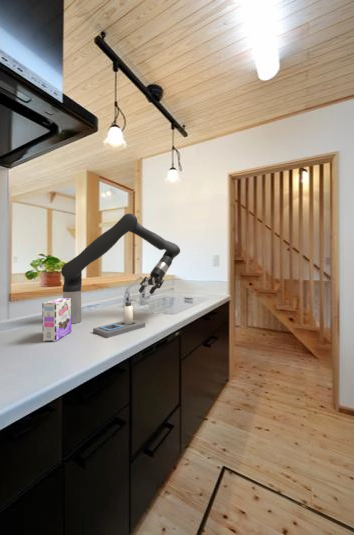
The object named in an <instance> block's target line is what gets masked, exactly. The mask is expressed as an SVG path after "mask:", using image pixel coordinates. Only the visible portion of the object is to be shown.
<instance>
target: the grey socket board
mask: <svg viewBox="0 0 354 535" xmlns="http://www.w3.org/2000/svg"><path fill="white" fill-rule="evenodd" d="M142 328H146V322H143V321H138V320H135V319H133V324H132V325H128V326H127V325H124V320H122V321H118V322H114V323H110V324H106V325H101V326H97V327H94V328H93V329H92V332H93V333H94V334H96V335H99V336H101V337H104V338H107V339H108V338H111V337H115V336H119V335H122V334H126V333H129V332H132V331H137V330H139V329H142Z"/></svg>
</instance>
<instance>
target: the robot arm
mask: <svg viewBox="0 0 354 535" xmlns="http://www.w3.org/2000/svg"><path fill="white" fill-rule="evenodd" d="M129 232H130V233H133V234H134V235H136V236H138V237H140V238H141V239H143V240H144V241H145V242H147V243H148V244H150V245H151V246H153V247H154V248H156V249H157V250H159V251H164V250H165V251H164V253H163V255H162V257H161V258H160V259H159V260H158V262H157V263H156V264H155V266H154V267H153V269H152V270H151V271H150V273H149V274H150V276H148V277H147V276H145V277H144V278H143V279H142V280H141V282H140V284H139V285H140V288H139V289H138V292H139V293H140V294H142V293H143V292H144V290H145V289H146V288H147V287H150V286H152V287H151V288H150V290H149V294H150V295H153V294H154V293H155V291H156V290H158V289H160V288H161V287H162V285H163V284H164V282H165V280H164V277H165V275H166V274H167V272H168V270H169V269H170V267H171V265H172V263H173V260H174V259H175V258H176V257H177V256H178V255H179V254H181V249H180V247H179V246H178V244H176V243H175V242H172V241H169V240H166V239H164V238H163V237H161V235H159V234H157V233H155V232H153V231H151V230H149V229H147V228H145V227H144V226H143V225H142V224H140V223H139V221H138V217H137V216H136V215H135V214H133V213H125V214H124V215H122V217H120V219H119V220H118V221H117V222H116V223H115V224H114V225H113V226H111V228H109V229H107V230H106V231H104V232H103V233H101V234H100V235H99V236H98V237H97V238H96V239H94V240H92V242H91V243H90V244H88V246H86V247H85V248H84V249H83V250H82V251H81V252H80V253H78V255H76V256H75V257H74V258H72V259H71V260H68V261H67V262H66V263H65V264H63V266H62V267H61V270H60V273H61V275H62V277H63V285H62V298H71V325H72V324H78V323H81V322H82V286H83V285H82V282H83V281H82V280H83V279H82V275H83V274H82V272H83V270H85V269H86V268H87V266H89V265H90V264H91V263H94V262H95V261H96V260H98V259H100V258H101V257H103V256H104V255H105V254H106V253H107V252H108V251H110V250H111V249H112V248H113V247H114V246H115V245H116V244H117V243H118V241H119V240H120V239H121V238H122V237H123V236H124V235H125V234H127V233H129Z"/></svg>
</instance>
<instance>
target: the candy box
mask: <svg viewBox="0 0 354 535" xmlns="http://www.w3.org/2000/svg"><path fill="white" fill-rule="evenodd" d="M41 305H42V311H41V312H42V314H41V316H42V323H41V324H42V342H57V341H59V340H60V339H62V338H64V337H65V336H67V335H68V334H71V333H72V324H71V298H63V297H58V298H56V299H52V300H49V301H46V302H42V304H41Z"/></svg>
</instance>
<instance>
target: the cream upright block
mask: <svg viewBox="0 0 354 535" xmlns="http://www.w3.org/2000/svg"><path fill="white" fill-rule="evenodd" d="M124 303H125V304H124V305H123V321H124V325H127V326H128V325H132V324H133V320H134V319H133V318H134V312H133V310H134V308H133V305H132V301H130V300H129V301H125V302H124Z"/></svg>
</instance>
